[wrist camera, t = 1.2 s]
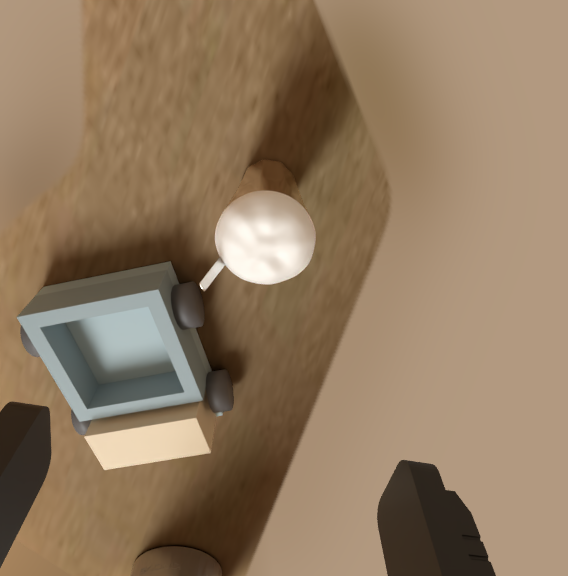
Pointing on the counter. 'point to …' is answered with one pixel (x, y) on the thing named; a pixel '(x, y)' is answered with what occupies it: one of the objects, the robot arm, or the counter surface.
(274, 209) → the milkshake
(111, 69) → the counter surface
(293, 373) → the counter surface
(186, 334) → the chassis
